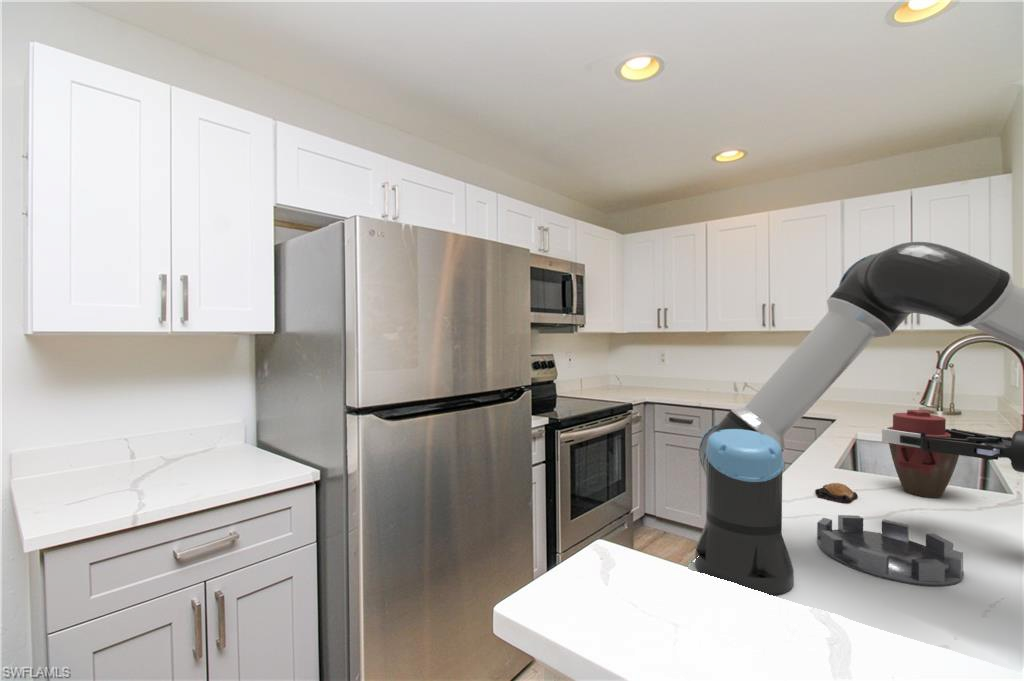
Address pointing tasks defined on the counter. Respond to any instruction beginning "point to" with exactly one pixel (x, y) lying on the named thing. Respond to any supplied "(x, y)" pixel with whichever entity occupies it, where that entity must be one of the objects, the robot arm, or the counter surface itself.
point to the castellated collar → (891, 552)
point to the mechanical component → (916, 424)
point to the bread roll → (836, 493)
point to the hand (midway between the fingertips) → (893, 432)
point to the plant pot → (926, 476)
